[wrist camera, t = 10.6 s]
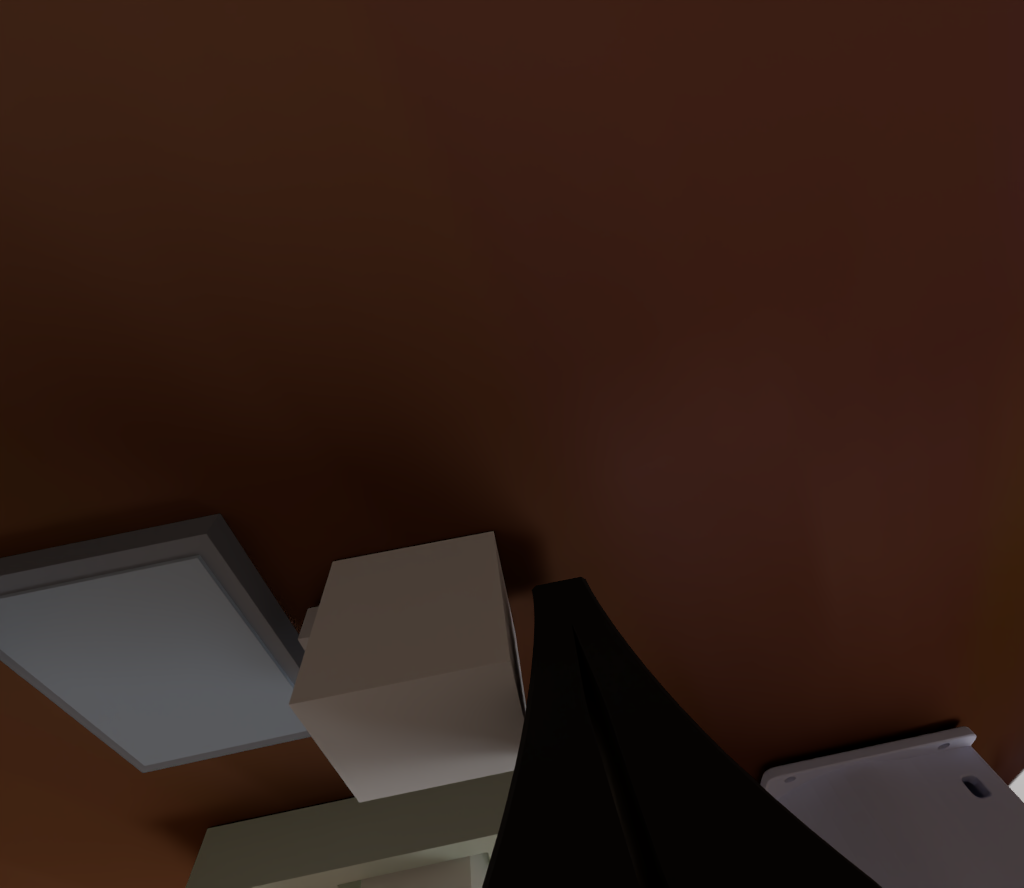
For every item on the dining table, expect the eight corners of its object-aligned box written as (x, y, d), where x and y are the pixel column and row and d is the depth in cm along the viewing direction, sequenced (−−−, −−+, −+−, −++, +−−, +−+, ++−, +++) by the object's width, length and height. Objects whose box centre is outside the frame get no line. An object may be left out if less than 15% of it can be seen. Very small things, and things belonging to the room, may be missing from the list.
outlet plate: (524, 761, 17) (533, 830, 15) (548, 850, 22) (557, 911, 20) (207, 828, 17) (178, 906, 15) (301, 904, 21) (287, 971, 19)
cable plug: (493, 530, 11) (510, 660, 8) (515, 632, 13) (534, 766, 10) (291, 569, 11) (231, 716, 8) (345, 666, 13) (314, 812, 10)
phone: (230, 498, 10) (203, 537, 9) (349, 690, 14) (341, 733, 13) (-31, 551, 10) (-89, 597, 9) (164, 730, 14) (141, 776, 13)
